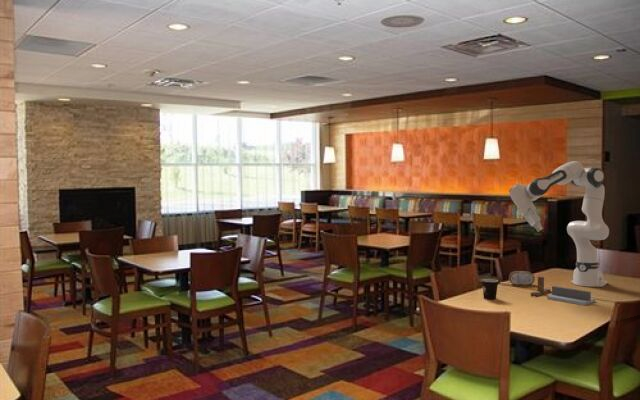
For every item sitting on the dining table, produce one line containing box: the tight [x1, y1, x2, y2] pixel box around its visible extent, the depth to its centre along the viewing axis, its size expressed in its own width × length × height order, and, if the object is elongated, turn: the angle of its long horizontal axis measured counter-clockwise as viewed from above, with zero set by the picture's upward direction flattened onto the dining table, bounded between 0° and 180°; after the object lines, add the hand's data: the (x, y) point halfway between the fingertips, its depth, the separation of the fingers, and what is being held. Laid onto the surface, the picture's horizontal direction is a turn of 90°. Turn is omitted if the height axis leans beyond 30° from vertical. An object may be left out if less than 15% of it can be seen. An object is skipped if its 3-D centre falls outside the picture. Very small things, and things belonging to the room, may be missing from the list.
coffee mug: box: [481, 278, 499, 301], centre depth 294 cm, size 12×9×10 cm
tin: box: [508, 270, 536, 286], centre depth 328 cm, size 15×3×8 cm, turn 84°
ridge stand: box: [546, 285, 596, 306], centre depth 288 cm, size 13×20×6 cm, turn 40°
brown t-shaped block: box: [530, 276, 552, 297], centre depth 303 cm, size 18×2×10 cm, turn 130°
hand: (540, 230), depth 309 cm, fingers open, 8 cm apart
